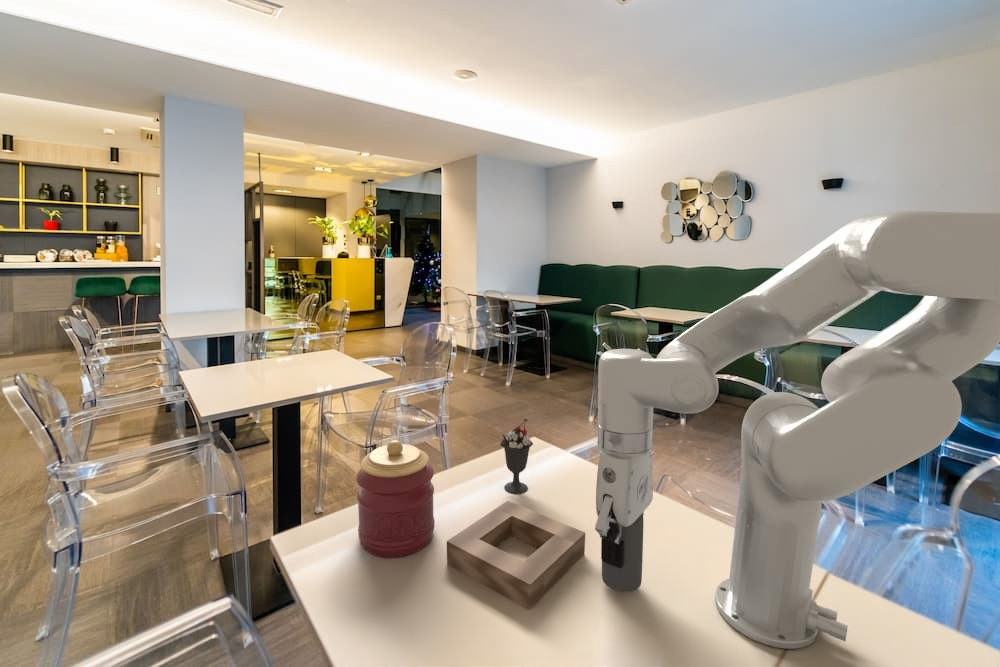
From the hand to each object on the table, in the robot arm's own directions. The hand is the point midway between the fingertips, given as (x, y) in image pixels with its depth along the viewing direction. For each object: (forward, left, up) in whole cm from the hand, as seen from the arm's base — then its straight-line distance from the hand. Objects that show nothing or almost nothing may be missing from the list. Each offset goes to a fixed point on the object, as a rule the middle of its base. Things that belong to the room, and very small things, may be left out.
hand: (622, 551), depth 72 cm
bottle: (0, 0, -5) cm, 5 cm away
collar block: (+16, +4, -6) cm, 18 cm away
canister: (+36, +12, -6) cm, 38 cm away
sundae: (+30, -15, -6) cm, 34 cm away
